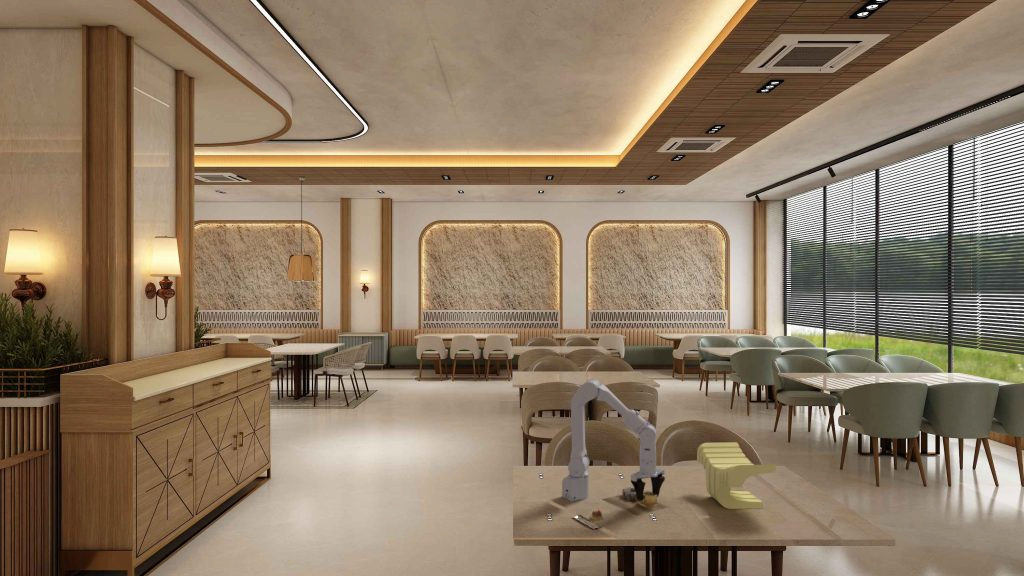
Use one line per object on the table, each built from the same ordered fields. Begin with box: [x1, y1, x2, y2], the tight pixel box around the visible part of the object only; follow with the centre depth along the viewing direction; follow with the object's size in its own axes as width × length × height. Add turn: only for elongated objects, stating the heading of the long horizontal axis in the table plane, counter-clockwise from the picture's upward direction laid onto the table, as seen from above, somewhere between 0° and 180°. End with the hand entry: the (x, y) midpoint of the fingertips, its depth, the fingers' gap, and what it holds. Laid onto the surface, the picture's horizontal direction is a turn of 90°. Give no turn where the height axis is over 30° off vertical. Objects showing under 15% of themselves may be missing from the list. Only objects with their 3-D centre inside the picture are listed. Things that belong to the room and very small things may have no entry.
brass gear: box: [639, 490, 658, 507], centre depth 212 cm, size 5×5×4 cm
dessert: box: [571, 507, 604, 530], centre depth 199 cm, size 12×12×5 cm
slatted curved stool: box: [696, 441, 777, 510], centre depth 217 cm, size 30×16×18 cm, turn 3°
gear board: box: [601, 487, 669, 516], centre depth 213 cm, size 15×18×5 cm
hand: (647, 498), depth 212 cm, fingers open, 7 cm apart
